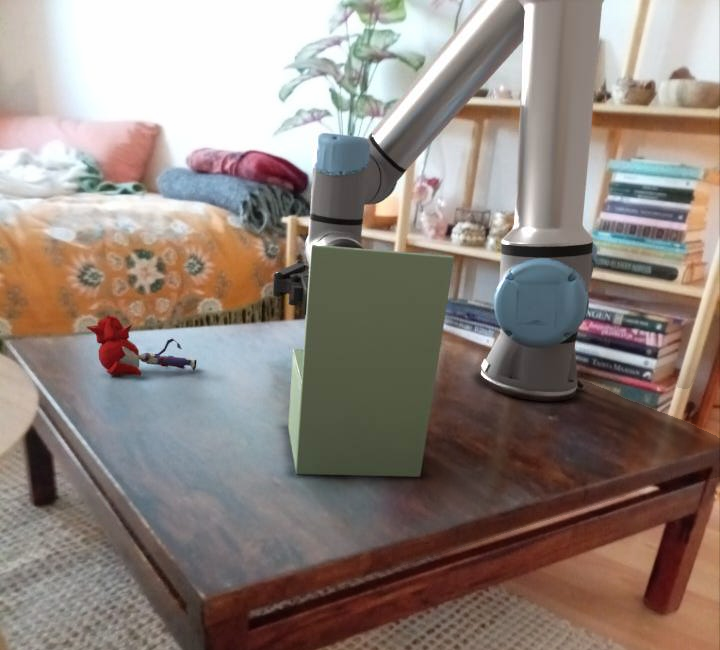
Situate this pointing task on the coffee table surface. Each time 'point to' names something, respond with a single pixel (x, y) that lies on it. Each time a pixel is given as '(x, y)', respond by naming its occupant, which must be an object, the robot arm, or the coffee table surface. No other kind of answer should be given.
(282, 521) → the coffee table surface
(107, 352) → the figurine
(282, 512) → the coffee table surface
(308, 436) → the tall sage green prism
